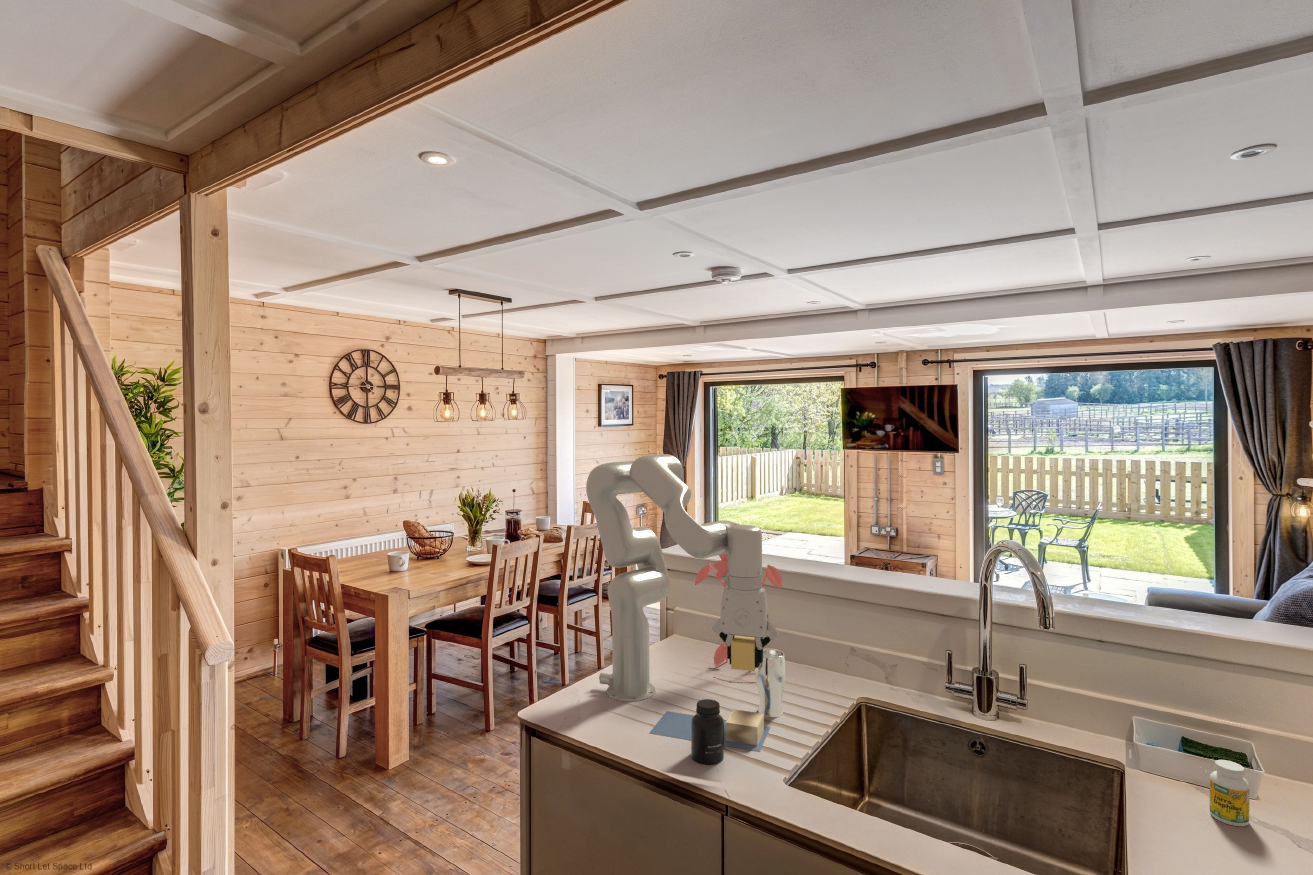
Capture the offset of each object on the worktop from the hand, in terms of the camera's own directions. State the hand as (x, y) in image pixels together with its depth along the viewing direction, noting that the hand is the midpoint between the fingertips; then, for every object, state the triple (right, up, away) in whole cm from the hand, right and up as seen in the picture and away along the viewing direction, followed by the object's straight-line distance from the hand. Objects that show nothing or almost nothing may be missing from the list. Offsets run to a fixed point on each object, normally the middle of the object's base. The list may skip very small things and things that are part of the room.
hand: (745, 663), depth 149 cm
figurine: (+3, -16, +40) cm, 43 cm away
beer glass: (+8, -17, +13) cm, 22 cm away
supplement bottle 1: (-9, -18, -8) cm, 21 cm away
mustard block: (0, -1, 0) cm, 1 cm away
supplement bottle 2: (+82, -18, -29) cm, 89 cm away
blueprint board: (-7, -17, +3) cm, 19 cm away
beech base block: (0, -16, +1) cm, 16 cm away
